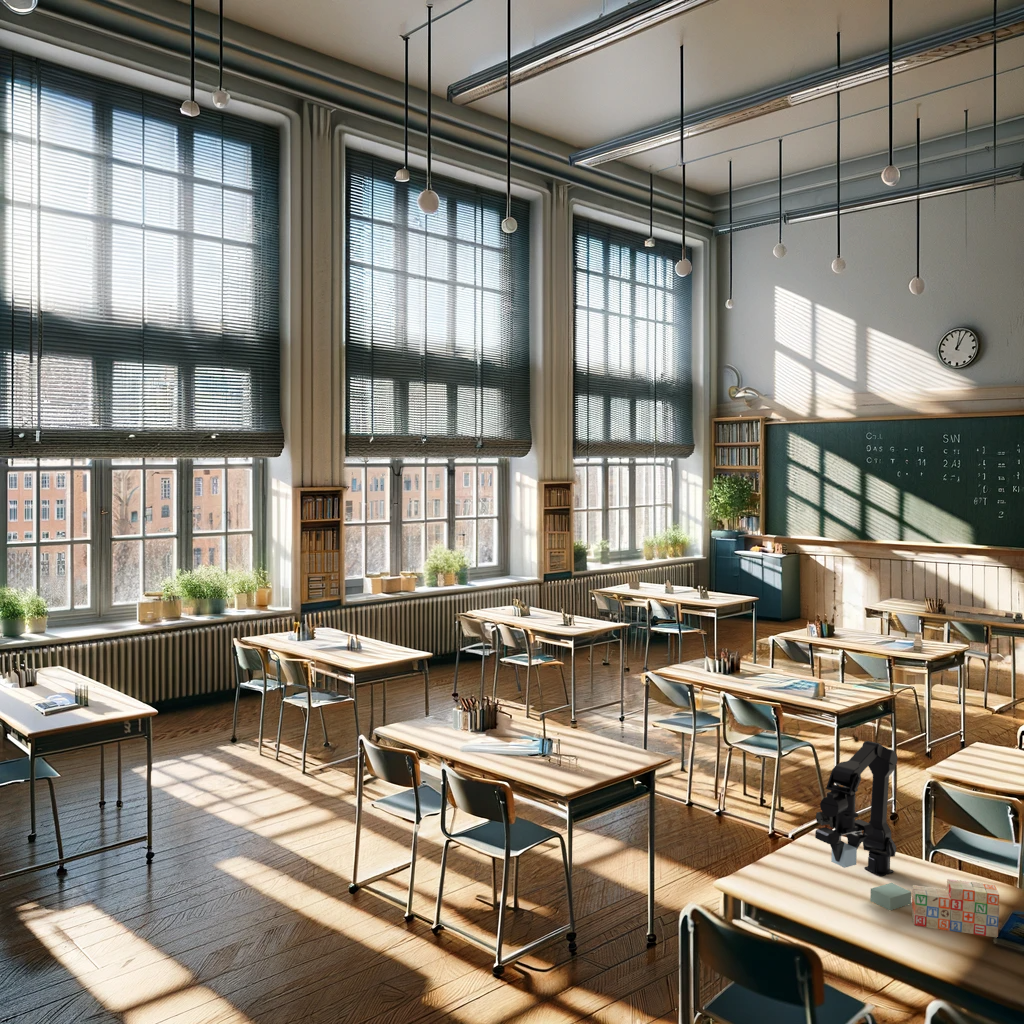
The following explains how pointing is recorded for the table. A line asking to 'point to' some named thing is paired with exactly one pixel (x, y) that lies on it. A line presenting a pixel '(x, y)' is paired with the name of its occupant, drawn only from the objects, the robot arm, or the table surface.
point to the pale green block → (890, 896)
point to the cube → (846, 856)
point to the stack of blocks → (957, 907)
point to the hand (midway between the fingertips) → (843, 859)
